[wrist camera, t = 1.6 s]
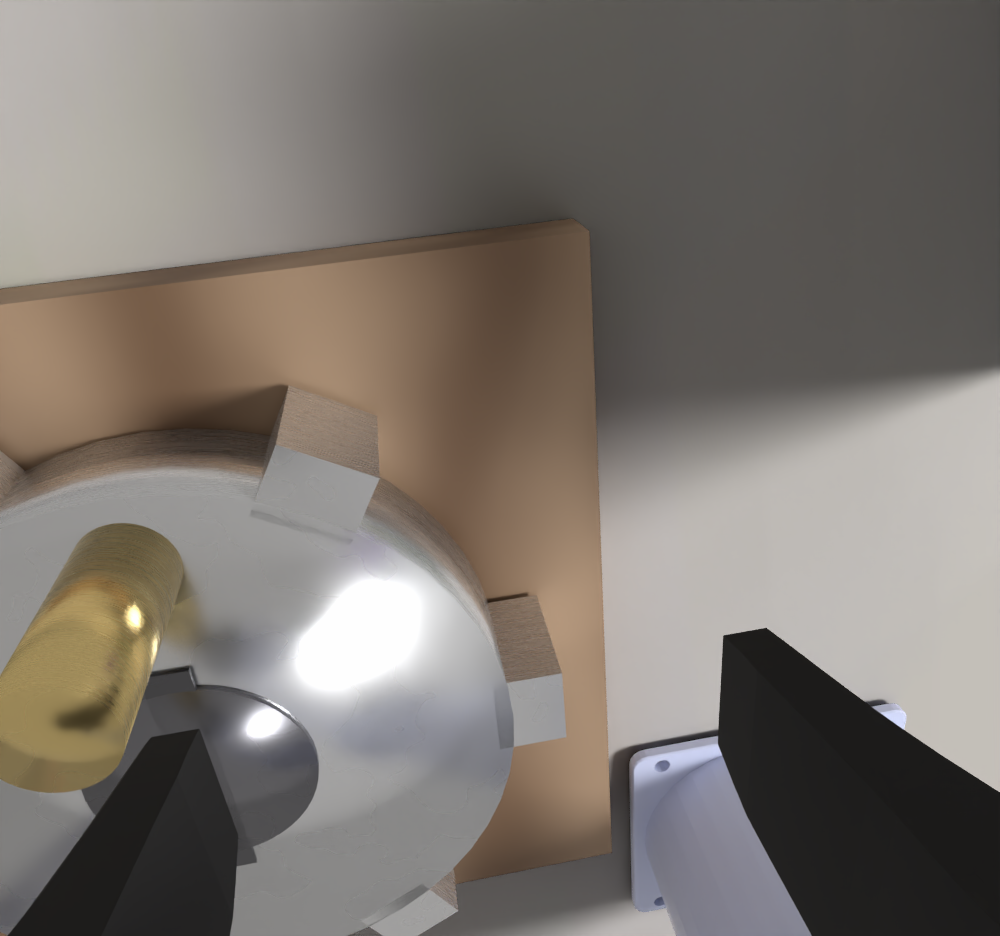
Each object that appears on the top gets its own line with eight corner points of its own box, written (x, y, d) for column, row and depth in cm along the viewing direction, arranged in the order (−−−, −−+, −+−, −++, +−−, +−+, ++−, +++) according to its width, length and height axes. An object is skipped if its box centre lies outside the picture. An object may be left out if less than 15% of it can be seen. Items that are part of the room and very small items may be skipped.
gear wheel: (555, 818, 25) (624, 1090, 18) (2, 926, 23) (-138, 1265, 17) (515, 353, 18) (606, 526, 11) (-286, 464, 16) (-722, 740, 10)
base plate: (573, 218, 18) (591, 232, 17) (600, 814, 28) (613, 858, 26) (-385, 336, 16) (-461, 364, 15) (-8, 932, 26) (-30, 987, 24)
